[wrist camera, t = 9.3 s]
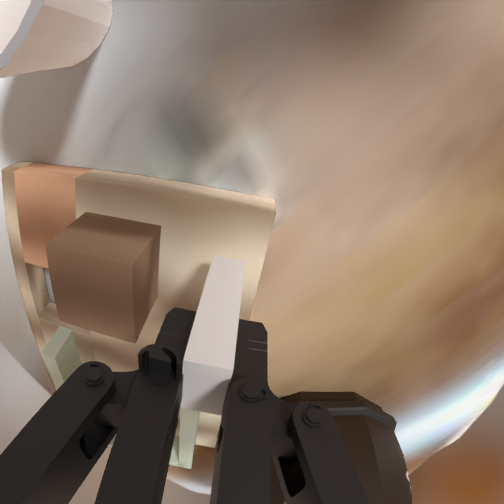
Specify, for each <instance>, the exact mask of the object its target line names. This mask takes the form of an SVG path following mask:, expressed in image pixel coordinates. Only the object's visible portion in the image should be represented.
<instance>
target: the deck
mask: <svg viewBox="0 0 504 504" xmlns="http://www.w3.org/2000/svg"><path fill="white" fill-rule="evenodd" d="M2 184H3V196H4V206H5V214H6V222H7V228H8V235H9V241H10V246H11V252H12V257H13V262H14V266H15V271H16V275H17V279H18V284H19V288H20V291H21V295H22V299H23V302H24V306H25V309H26V313H27V316H28V319H29V322H30V325H31V328H32V331H33V334H34V337H35V340H36V343H37V346H38V348H39V351H40V354H41V356H42V359H43V361H44V364H45V366H46V369H47V371H48V374H49V376H50V378H51V375H50V373H49V370H48V368H47V365H46V363H45V360H44V358H43V355H42V353H41V352H42V351H43V349H44V348H45V346H46V345H47V343H48V342H49V341H50V339H51V338H52V336H53V335H54V333H55V332H56V330H57V329H58V328H59V326H62V327H65V328H68V329H71V330H73V334H74V338H75V342H76V346H77V350H78V353H79V357H80V360H81V364H83V363H86V362H89V361H99V362H102V363H105V364H106V365H107V366H109V367H110V368H111V370H112V372H128V371H134V370H137V369H139V365H138V353H139V352H140V350H141V349H142V348H144V347H146V346H147V345H151V344H155V341H156V339H157V336H158V334H159V332H160V329H161V326H162V324H163V321H164V319H165V316H166V314H167V313H168V312H169V311H170V310H172V309H173V308H174V307H177V308H182V309H187V310H191V311H196V312H197V309H198V306H199V302H200V299H201V296H202V292H203V289H204V285H205V282H206V279H207V275H208V272H209V269H210V265H211V262H212V259H213V255H216V256H221V257H226V258H231V259H236V260H242V261H245V269H244V278H243V287H242V296H241V305H240V314H239V319H242V320H248V321H249V318H250V314H251V310H252V306H253V302H254V299H255V295H256V291H257V287H258V283H259V279H260V275H261V271H262V267H263V263H264V259H265V255H266V251H267V247H268V243H269V239H270V235H271V231H272V227H273V223H274V219H275V215H276V207H275V200H274V199H270V198H265V197H260V196H255V195H250V194H245V193H240V192H235V191H229V190H224V189H219V188H213V187H208V186H202V185H196V184H191V183H185V182H179V181H173V180H167V179H160V178H154V177H147V176H141V175H134V174H127V173H120V172H112V171H105V170H97V169H89V168H80V167H71V166H62V165H53V164H42V163H31V162H18V163H16V164H14V165H11V166H9V167H7V168H4V169H2ZM85 212H91V213H96V214H101V215H107V216H112V217H118V218H123V219H128V220H134V221H139V222H144V223H150V224H155V225H160V226H161V236H160V252H159V273H158V297H157V299H156V301H155V303H154V305H153V307H152V309H151V311H150V313H149V316H148V318H147V320H146V322H145V324H144V326H143V329H142V331H141V333H140V335H139V337H138V340H137V342H136V344H135V343H132V342H128V341H124V340H121V339H117V338H113V337H110V336H107V335H103V334H100V333H97V332H93V331H90V330H87V329H84V328H81V327H78V326H74V325H71V324H68V323H66V322H63V321H60V320H59V316H58V312H57V308H56V304H55V303H52V302H50V300H49V295H48V290H47V286H46V281H45V275H44V270H43V268H47V269H49V267H48V261H47V254H46V247H45V245H46V244H47V243H48V242H49V241H50V240H52V239H53V238H54V237H55V236H56V235H58V234H59V233H60V232H61V231H62V230H64V229H65V228H66V227H67V226H69V225H70V224H71V223H72V222H74V221H75V220H76V219H77V218H79V217H80V216H81V215H83V214H84V213H85ZM51 381H52V383H53V385H54V387H55V384H54V382H53V380H52V378H51ZM55 390H56V391H57V389H56V387H55ZM180 409H181V408H180ZM221 417H222V416H221V415H215V414H210V413H204V412H200V414H199V422H198V429H197V436H196V443H195V445H201V446H207V447H212V448H215V446H216V442H217V435H218V431H219V427H220V424H221ZM179 435H180V410H179V414H178V424H177V429H176V434H175V436H179Z"/></svg>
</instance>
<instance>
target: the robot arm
mask: <svg viewBox="0 0 504 504" xmlns="http://www.w3.org/2000/svg"><path fill="white" fill-rule="evenodd" d="M244 269H245V261H242V260H236V259H231V258H226V257H221V256H216V255H213V259H212V262H211V265H210V269H209V272H208V275H207V279H206V282H205V285H204V289H203V292H202V296H201V299H200V302H199V306H198V309H197V312H196V311H191V310H187V309H182V308H177V307H174V308H173V309H172V310H170V311H169V312H168V313H167V314H166V316H165V319H164V321H163V324H162V326H161V329H160V332H159V334H158V336H157V339H156V341H155V344H151V345H147V346H146V347H144V348H142V349H141V350H140V352H139V353H138V365H139V369H137V370H134V371H128V372H112V370H111V368H110V367H109V366H107V365H106V364H105V363H102V362H99V361H89V362H86V363H83V364H82V365H80V366H79V367H78V368H77V369H76V370H75V371H74V372H73V373H72V374H71V375H70V376H69V378H68V379H67V380H66V381H65V382H64V383H63V384H62V385H61V386H60V387H59V388H58V390H57V391H56V392H55V393H54V394H53V395H52V396H51V397H50V398H49V399H48V401H47V402H46V403H45V404H44V405H43V406H42V407H41V408H40V410H39V411H38V412H37V413H36V414H35V415H34V416H33V417H32V419H31V420H30V421H29V422H28V423H27V424H26V426H25V427H24V428H23V429H22V430H21V431H20V433H19V434H18V435H17V436H16V437H15V438H14V440H13V441H12V442H11V443H10V444H9V446H8V447H7V448H6V449H5V450H4V451H3V453H2V454H1V455H0V504H68V503H69V501H70V500H71V499H72V497H73V496H74V494H75V493H76V491H77V490H78V488H79V487H80V486H81V484H82V483H83V481H84V480H85V478H86V477H87V475H88V474H89V472H90V471H91V469H92V468H93V466H94V465H95V464H96V462H97V461H98V459H99V458H100V456H101V455H102V454H103V452H104V451H105V449H106V448H107V446H108V445H109V443H110V442H111V441H112V439H113V438H114V436H115V435H116V437H115V440H114V443H113V446H112V449H111V452H110V455H109V458H108V461H107V464H106V468H105V471H104V474H103V477H102V481H101V484H100V488H99V491H98V494H97V497H96V501H95V504H161V501H162V496H163V492H164V486H165V481H166V477H167V472H168V467H169V462H170V457H171V452H172V448H173V443H174V438H175V434H176V429H177V424H178V414H179V410H180V408H184V409H189V410H194V411H199V412H204V413H210V414H215V415H221V416H222V417H221V424H220V427H219V431H218V435H217V438H218V442H217V450H216V458H215V466H214V474H213V482H212V490H211V499H210V504H271V454H272V457H273V461H274V464H275V468H276V471H277V475H278V478H279V482H280V485H281V489H282V492H283V495H284V499H285V502H286V504H369V501H368V499H367V496H366V494H365V492H364V489H363V487H362V485H361V482H360V480H359V478H358V475H357V473H356V470H355V468H354V466H353V463H352V461H351V459H350V456H349V454H348V452H347V449H346V447H345V445H344V442H343V440H342V438H341V435H340V433H339V431H338V428H337V426H336V424H335V421H334V419H333V417H332V414H331V413H330V412H329V410H328V409H327V408H326V407H325V406H323V405H322V404H319V403H317V402H310V401H306V402H303V403H300V404H299V405H298V406H296V405H293V404H291V403H288V402H285V401H283V400H281V399H279V398H278V397H276V396H275V395H274V394H273V393H272V391H271V390H270V388H269V386H268V381H267V331H266V329H265V327H264V325H263V324H262V323H260V322H254V321H248V320H242V319H239V314H240V305H241V296H242V287H243V278H244ZM116 433H117V434H116Z"/></svg>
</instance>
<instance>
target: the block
mask: <svg viewBox="0 0 504 504" xmlns="http://www.w3.org/2000/svg"><path fill="white" fill-rule="evenodd" d="M160 236H161V226H160V225H155V224H150V223H144V222H139V221H134V220H128V219H123V218H118V217H112V216H107V215H101V214H96V213H91V212H85V213H84V214H83V215H81V216H80V217H79V218H77V219H76V220H75V221H74V222H72V223H71V224H70V225H69V226H67V227H66V228H65V229H64V230H62V231H61V232H60V233H59V234H58V235H56V236H55V237H54V238H53V239H52V240H50V241H49V242H48V243H47V244H46V245H45V247H46V254H47V261H48V267H49V273H50V278H51V284H52V289H53V294H54V299H55V303H56V308H57V312H58V316H59V320H60V321H63V322H66V323H68V324H71V325H74V326H78V327H81V328H84V329H87V330H90V331H93V332H97V333H100V334H103V335H107V336H110V337H113V338H117V339H121V340H124V341H128V342H132V343H135V344H136V342H137V340H138V337H139V335H140V333H141V331H142V329H143V326H144V324H145V322H146V320H147V318H148V316H149V313H150V311H151V309H152V307H153V305H154V303H155V301H156V299H157V297H158V273H159V252H160Z"/></svg>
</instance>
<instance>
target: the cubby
mask: <svg viewBox="0 0 504 504" xmlns="http://www.w3.org/2000/svg"><path fill="white" fill-rule="evenodd" d="M41 353H42V355H43V358H44V360H45V363H46V365H47V368H48V370H49V373H50V375H51V378H52V380H53V382H54V384H55V387H56V389H57V390H58V388H59V387H60V386H61V385H62V384H63V383H64V382H65V381H66V380H67V379H68V378H69V376H70V375H71V374H72V373H73V372H74V371H75V370H76V369H77V368H78V367H79V366H80V365H82V364H81V360H80V357H79V353H78V350H77V346H76V342H75V338H74V334H73V330H71V329H68V328H65V327H62V326H59V328H58V329H57V330H56V332H55V333H54V335H53V336H52V338H51V339H50V341H49V342H48V343H47V345H46V346H45V348H44V349H43V351H42V352H41ZM199 414H200V412H199V411H194V410H189V409H184V408H181V409H180V435H179V436H175V438H174V443H173V448H172V452H171V457H170V462H169V465H173V466H178V467H183V468H188V469H191V467H192V461H193V455H194V449H195V443H196V436H197V429H198V422H199ZM116 434H117V433H116ZM115 437H116V435H115V436H114V438H113V439H112V441H111V442H110V443H109V445H108V446H107V447H109V448H111V449H112V446H113V443H114V440H115Z"/></svg>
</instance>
